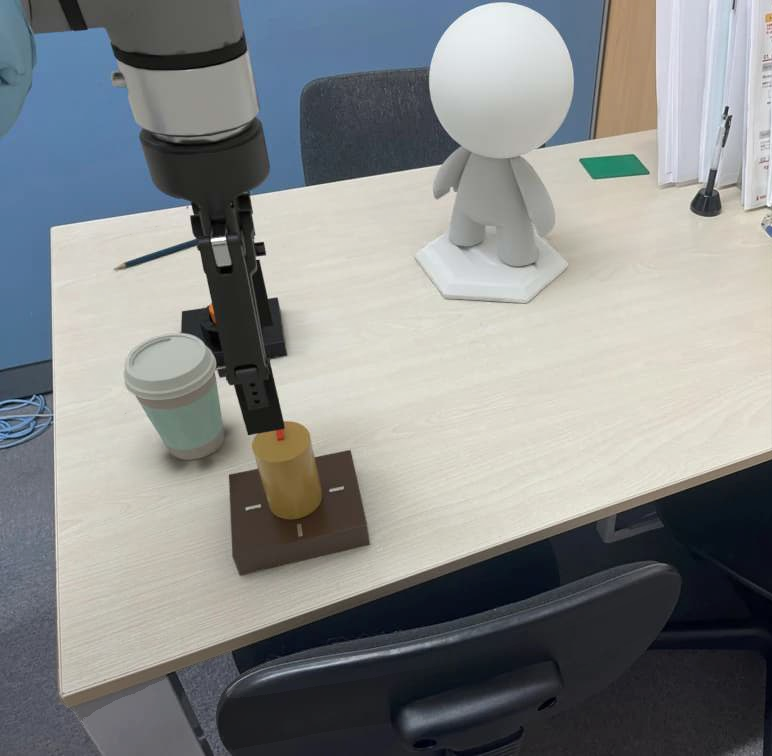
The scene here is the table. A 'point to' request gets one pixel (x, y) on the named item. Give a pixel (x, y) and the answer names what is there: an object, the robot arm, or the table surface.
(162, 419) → the coffee cup
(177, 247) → the pencil
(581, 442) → the table surface
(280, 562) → the plate
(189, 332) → the button box
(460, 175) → the big headed doll
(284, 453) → the lock knob
